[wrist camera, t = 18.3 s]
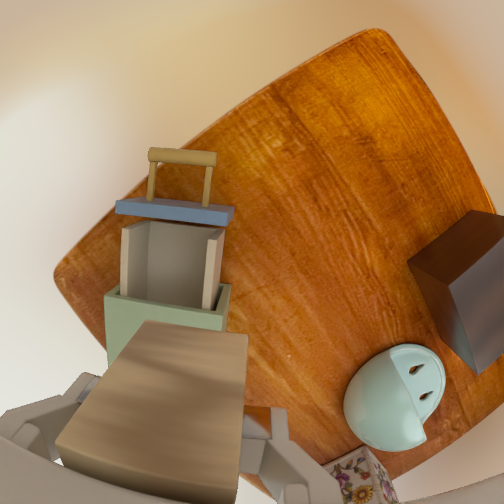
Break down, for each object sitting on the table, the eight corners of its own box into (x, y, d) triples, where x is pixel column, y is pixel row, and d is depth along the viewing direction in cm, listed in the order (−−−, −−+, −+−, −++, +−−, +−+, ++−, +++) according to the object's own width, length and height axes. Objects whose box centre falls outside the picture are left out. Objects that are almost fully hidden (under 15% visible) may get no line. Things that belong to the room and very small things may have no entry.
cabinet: (136, 270, 37) (103, 295, 28) (231, 284, 37) (222, 315, 28) (137, 365, 40) (112, 404, 31) (221, 380, 40) (212, 425, 31)
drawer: (148, 150, 33) (121, 143, 26) (240, 158, 33) (235, 151, 26) (137, 301, 37) (113, 326, 30) (222, 314, 37) (214, 344, 30)
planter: (330, 415, 32) (452, 343, 30) (321, 381, 39) (426, 319, 37) (377, 482, 36) (471, 428, 33) (366, 451, 43) (451, 402, 40)
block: (148, 397, 13) (90, 521, 6) (145, 318, 12) (52, 441, 5) (238, 412, 13) (224, 553, 6) (249, 333, 12) (237, 488, 5)
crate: (406, 261, 36) (448, 286, 26) (471, 209, 34) (521, 219, 24) (441, 340, 38) (477, 375, 28) (499, 290, 36) (541, 314, 27)
